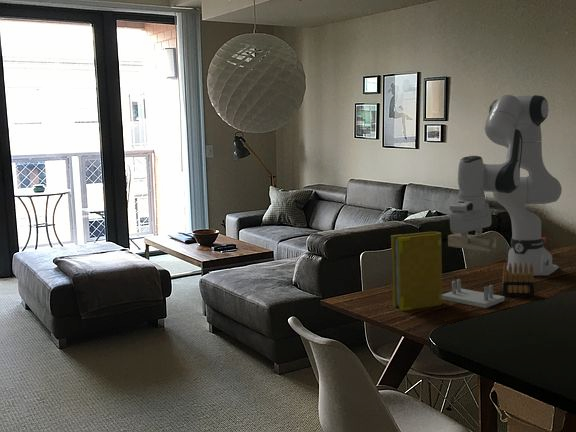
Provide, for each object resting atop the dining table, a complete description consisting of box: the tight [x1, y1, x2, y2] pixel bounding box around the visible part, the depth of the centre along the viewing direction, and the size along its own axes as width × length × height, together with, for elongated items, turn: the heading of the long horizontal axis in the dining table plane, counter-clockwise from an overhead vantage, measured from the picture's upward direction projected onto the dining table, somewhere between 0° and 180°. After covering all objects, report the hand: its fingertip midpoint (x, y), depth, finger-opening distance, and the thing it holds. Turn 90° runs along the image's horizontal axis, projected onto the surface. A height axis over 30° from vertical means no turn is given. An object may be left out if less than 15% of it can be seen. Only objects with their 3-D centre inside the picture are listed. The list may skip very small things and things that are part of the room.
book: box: [390, 231, 443, 312], centre depth 223 cm, size 17×7×25 cm, turn 106°
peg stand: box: [442, 278, 506, 309], centre depth 227 cm, size 12×18×6 cm, turn 41°
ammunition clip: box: [501, 262, 535, 297], centre depth 230 cm, size 11×2×12 cm, turn 76°
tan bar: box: [447, 233, 497, 252], centre depth 225 cm, size 5×16×4 cm, turn 41°
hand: (471, 242), depth 225 cm, fingers closed on tan bar, 5 cm apart
